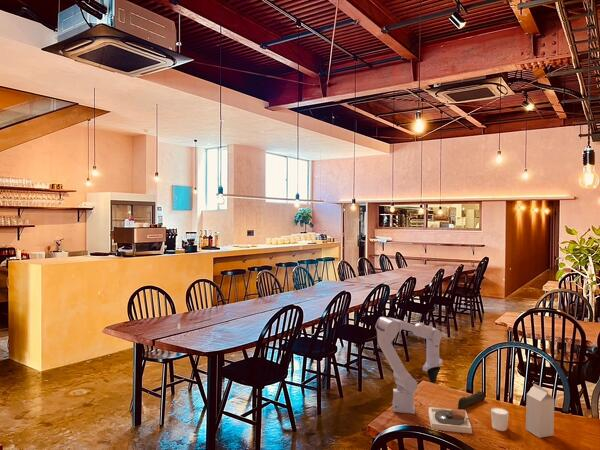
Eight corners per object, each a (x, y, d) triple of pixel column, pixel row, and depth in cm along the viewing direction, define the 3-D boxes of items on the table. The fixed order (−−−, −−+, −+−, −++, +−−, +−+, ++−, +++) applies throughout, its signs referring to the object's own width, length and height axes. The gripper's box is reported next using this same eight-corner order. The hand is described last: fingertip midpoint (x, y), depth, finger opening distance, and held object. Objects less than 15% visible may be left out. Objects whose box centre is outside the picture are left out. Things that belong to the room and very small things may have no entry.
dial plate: (431, 429, 182) (431, 423, 181) (428, 411, 197) (428, 406, 197) (472, 433, 178) (472, 427, 178) (466, 415, 194) (466, 410, 194)
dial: (438, 424, 182) (438, 415, 182) (431, 411, 194) (432, 403, 194) (469, 426, 181) (469, 417, 181) (460, 412, 193) (461, 404, 193)
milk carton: (539, 438, 175) (540, 391, 174) (525, 429, 182) (526, 384, 181) (553, 435, 177) (554, 389, 176) (539, 427, 184) (540, 382, 183)
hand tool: (477, 398, 212) (477, 388, 212) (485, 401, 209) (485, 391, 209) (453, 408, 202) (453, 398, 201) (460, 411, 198) (460, 401, 198)
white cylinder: (509, 426, 185) (509, 409, 184) (507, 433, 179) (508, 416, 178) (491, 421, 188) (491, 405, 188) (489, 428, 182) (489, 412, 182)
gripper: (432, 359, 196) (432, 389, 196) (448, 351, 206) (448, 380, 206) (418, 355, 201) (418, 384, 201) (434, 348, 211) (434, 376, 211)
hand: (432, 382), depth 204 cm, fingers closed
